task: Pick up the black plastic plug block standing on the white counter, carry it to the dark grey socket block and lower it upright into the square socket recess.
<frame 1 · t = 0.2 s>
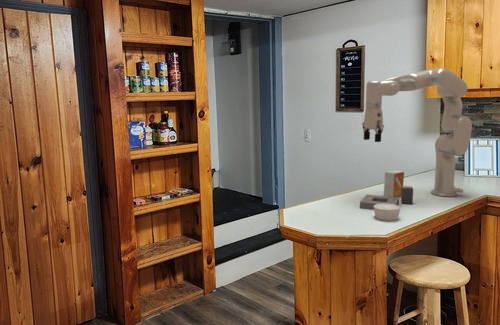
hand: (372, 140, 218), 31 cm above the table, tool pointing down, fingers open, 9 cm apart
small box: (393, 195, 233), on the table
socket block: (379, 205, 213), on the table
ramekin: (386, 218, 193), on the table
plug: (406, 203, 217), on the table
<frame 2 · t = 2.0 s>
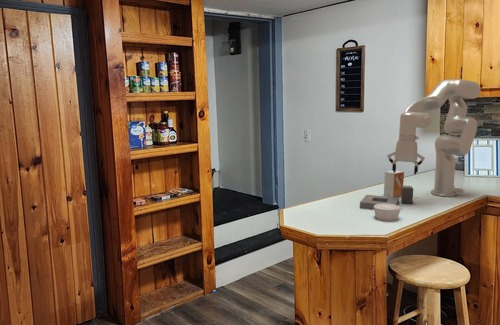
hand: (404, 173, 214), 15 cm above the table, tool pointing down, fingers open, 9 cm apart
nothing on the table moved.
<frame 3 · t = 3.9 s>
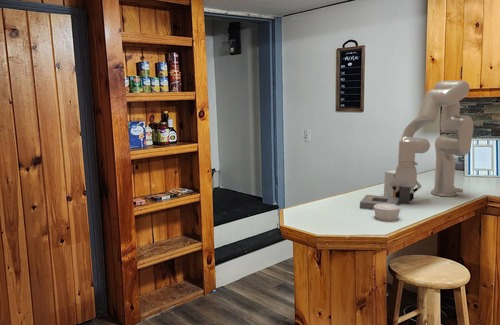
hand: (404, 199, 217), 2 cm above the table, tool pointing down, fingers closed on plug, 5 cm apart
plug: (404, 202, 218), on the table, touching gripper, socket block
everything else where it was.
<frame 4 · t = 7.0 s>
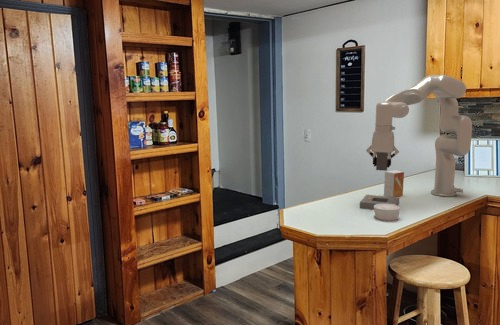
hand: (381, 166, 209), 20 cm above the table, tool pointing down, fingers closed on plug, 5 cm apart
plug: (381, 169, 210), point 18 cm above the table, touching gripper
everything else where it was.
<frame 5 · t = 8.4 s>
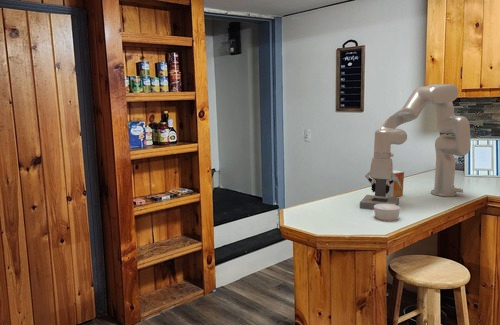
hand: (380, 192, 212), 7 cm above the table, tool pointing down, fingers closed on plug, 5 cm apart
plug: (380, 195, 212), point 5 cm above the table, touching gripper
everything else where it was.
when the fingers open (4 cm above the table, at t = 9.8 s): plug drops 1 cm, resting on socket block.
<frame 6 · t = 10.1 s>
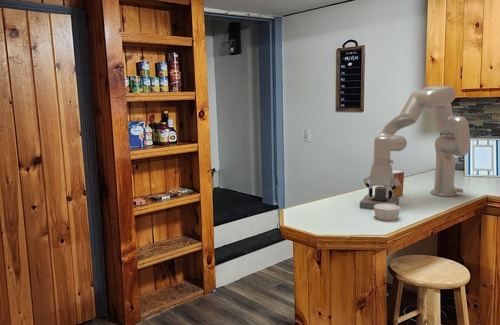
hand: (380, 197, 212), 4 cm above the table, tool pointing down, fingers open, 8 cm apart
plug: (380, 204, 213), point 1 cm above the table, touching socket block
everything else where it was.
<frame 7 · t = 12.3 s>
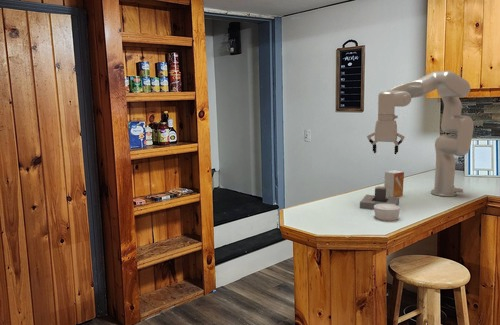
hand: (385, 153, 211), 25 cm above the table, tool pointing down, fingers open, 9 cm apart
nothing on the table moved.
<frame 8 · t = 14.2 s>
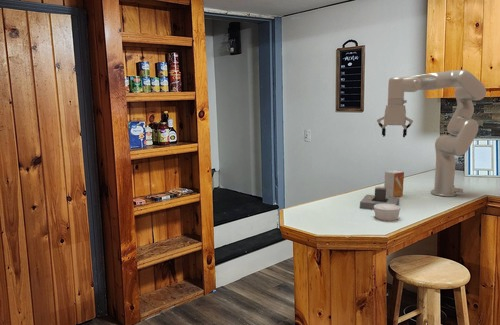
hand: (393, 136, 220), 32 cm above the table, tool pointing down, fingers open, 9 cm apart
nothing on the table moved.
at the end: plug 0.7 cm off-centre on the socket block, point 0.6 cm above the socket block's base; plug tilted 0°; the gripper is holding nothing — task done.
